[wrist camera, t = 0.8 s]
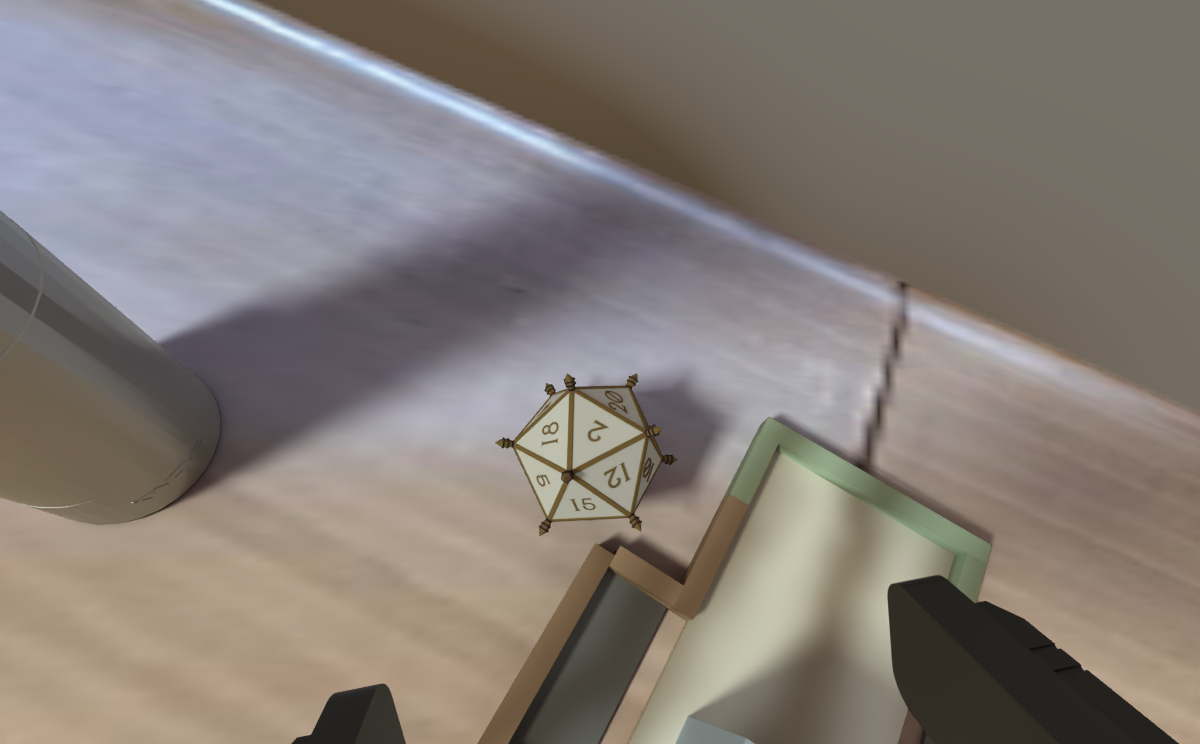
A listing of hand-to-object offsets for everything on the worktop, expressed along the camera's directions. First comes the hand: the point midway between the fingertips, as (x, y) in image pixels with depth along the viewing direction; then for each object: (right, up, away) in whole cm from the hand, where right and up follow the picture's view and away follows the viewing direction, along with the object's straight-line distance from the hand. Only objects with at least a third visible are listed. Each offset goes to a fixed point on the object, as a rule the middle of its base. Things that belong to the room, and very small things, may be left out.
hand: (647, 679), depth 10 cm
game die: (-2, -1, +26) cm, 26 cm away
